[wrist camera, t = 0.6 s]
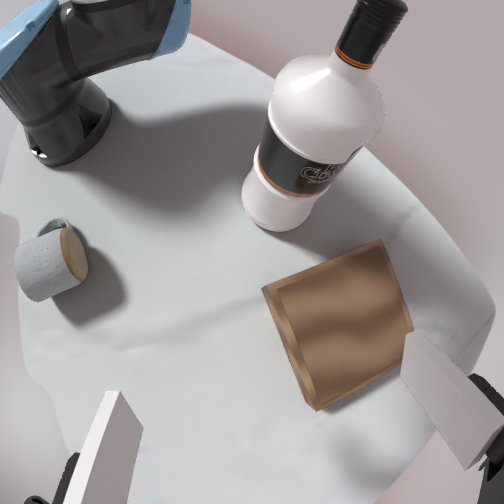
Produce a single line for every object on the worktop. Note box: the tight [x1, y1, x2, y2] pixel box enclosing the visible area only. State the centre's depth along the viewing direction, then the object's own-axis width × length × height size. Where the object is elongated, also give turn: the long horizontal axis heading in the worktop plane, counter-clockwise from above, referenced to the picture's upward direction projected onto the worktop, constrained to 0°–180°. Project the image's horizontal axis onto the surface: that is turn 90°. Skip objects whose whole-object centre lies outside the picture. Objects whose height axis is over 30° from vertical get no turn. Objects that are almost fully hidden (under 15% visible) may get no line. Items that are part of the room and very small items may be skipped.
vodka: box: [241, 0, 408, 232], centre depth 23 cm, size 9×9×30 cm
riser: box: [261, 239, 413, 412], centre depth 33 cm, size 16×16×4 cm
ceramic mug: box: [14, 217, 88, 302], centre depth 28 cm, size 11×8×8 cm
